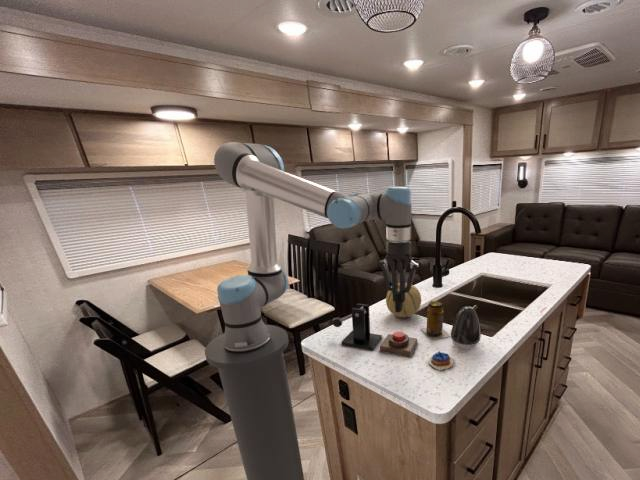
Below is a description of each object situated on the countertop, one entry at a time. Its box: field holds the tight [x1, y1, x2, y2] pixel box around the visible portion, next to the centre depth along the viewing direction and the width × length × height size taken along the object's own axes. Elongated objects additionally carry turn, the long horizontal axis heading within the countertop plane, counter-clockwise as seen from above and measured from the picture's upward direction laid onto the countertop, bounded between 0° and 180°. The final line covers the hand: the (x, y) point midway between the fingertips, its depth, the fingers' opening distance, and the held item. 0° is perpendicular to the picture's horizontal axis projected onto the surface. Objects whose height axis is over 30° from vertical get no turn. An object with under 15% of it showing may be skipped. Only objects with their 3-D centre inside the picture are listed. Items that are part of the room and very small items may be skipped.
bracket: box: [340, 303, 383, 351], centre depth 114 cm, size 12×9×14 cm
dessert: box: [428, 350, 454, 371], centre depth 103 cm, size 8×7×6 cm
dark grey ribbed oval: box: [450, 304, 482, 351], centre depth 110 cm, size 10×10×15 cm
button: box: [392, 330, 406, 341], centre depth 111 cm, size 4×4×2 cm
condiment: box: [421, 300, 449, 340], centre depth 120 cm, size 7×8×12 cm
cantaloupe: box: [385, 282, 422, 318], centre depth 133 cm, size 15×15×15 cm
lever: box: [332, 306, 366, 328], centre depth 114 cm, size 14×4×4 cm, turn 71°
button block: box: [379, 333, 418, 357], centre depth 112 cm, size 11×9×4 cm
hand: (398, 310), depth 107 cm, fingers closed
